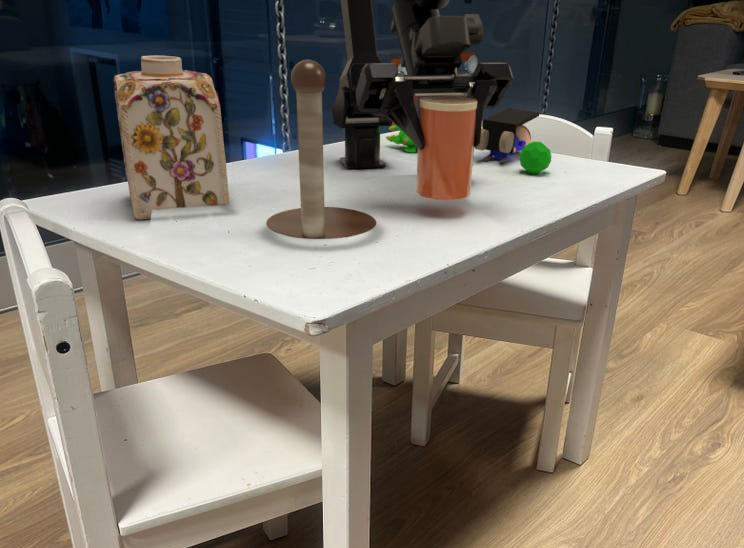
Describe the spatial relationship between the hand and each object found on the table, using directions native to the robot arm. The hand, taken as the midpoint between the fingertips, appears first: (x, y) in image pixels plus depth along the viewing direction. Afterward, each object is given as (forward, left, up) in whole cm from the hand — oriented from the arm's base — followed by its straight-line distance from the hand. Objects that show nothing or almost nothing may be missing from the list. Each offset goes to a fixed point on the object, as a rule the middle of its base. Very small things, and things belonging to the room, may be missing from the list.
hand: (450, 146), depth 86 cm
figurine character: (-36, +23, -10) cm, 44 cm away
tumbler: (-1, 0, -6) cm, 6 cm away
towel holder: (0, -16, -9) cm, 18 cm away
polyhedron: (-24, +23, -10) cm, 35 cm away
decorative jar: (-14, -32, -10) cm, 36 cm away
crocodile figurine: (-42, +11, -10) cm, 45 cm away
